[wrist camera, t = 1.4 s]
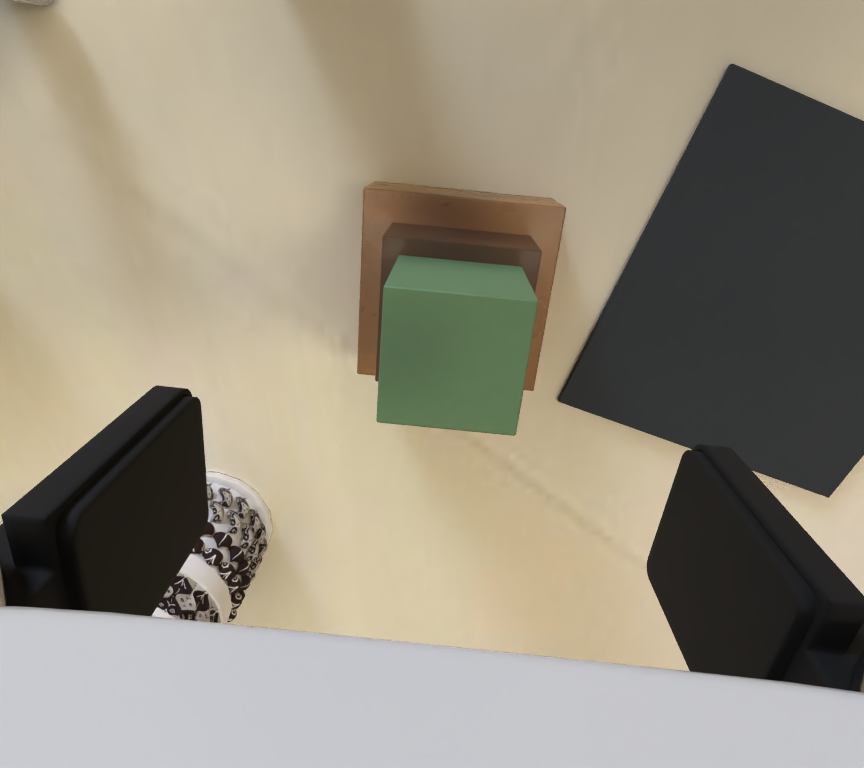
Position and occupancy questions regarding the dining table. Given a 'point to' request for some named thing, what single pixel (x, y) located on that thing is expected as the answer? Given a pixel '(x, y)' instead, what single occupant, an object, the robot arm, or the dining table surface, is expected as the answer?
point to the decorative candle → (221, 555)
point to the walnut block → (455, 252)
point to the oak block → (460, 213)
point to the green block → (455, 344)
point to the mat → (746, 293)
